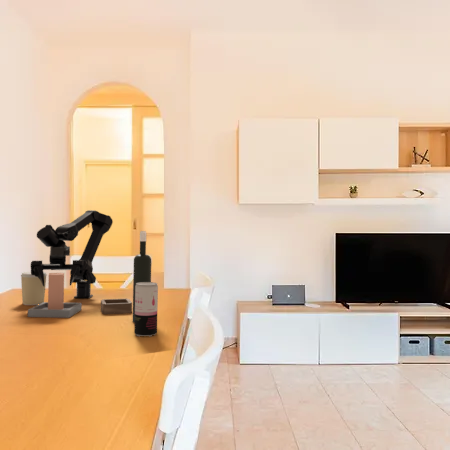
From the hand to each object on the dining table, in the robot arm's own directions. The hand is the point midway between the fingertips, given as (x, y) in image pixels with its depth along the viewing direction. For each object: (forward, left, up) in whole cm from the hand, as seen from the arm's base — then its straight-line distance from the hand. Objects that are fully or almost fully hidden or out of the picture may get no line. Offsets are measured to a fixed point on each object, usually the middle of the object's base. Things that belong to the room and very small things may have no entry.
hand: (57, 285), depth 167 cm
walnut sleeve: (+1, +22, -9) cm, 24 cm away
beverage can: (+35, +38, -9) cm, 52 cm away
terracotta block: (+7, +2, -8) cm, 11 cm away
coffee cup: (-11, -13, -9) cm, 20 cm away
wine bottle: (+18, +34, -9) cm, 39 cm away
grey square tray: (+7, +2, -9) cm, 11 cm away
